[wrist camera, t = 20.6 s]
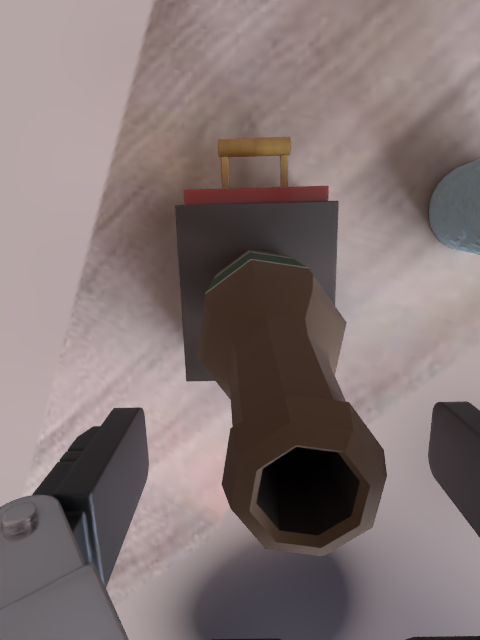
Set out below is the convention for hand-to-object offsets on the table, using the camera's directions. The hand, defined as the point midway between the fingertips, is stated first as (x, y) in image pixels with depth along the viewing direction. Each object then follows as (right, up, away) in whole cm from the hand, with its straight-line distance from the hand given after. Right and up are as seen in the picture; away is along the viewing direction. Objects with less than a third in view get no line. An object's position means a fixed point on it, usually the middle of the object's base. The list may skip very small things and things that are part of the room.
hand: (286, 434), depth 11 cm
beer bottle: (0, +5, +21) cm, 21 cm away
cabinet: (0, +7, +30) cm, 31 cm away
